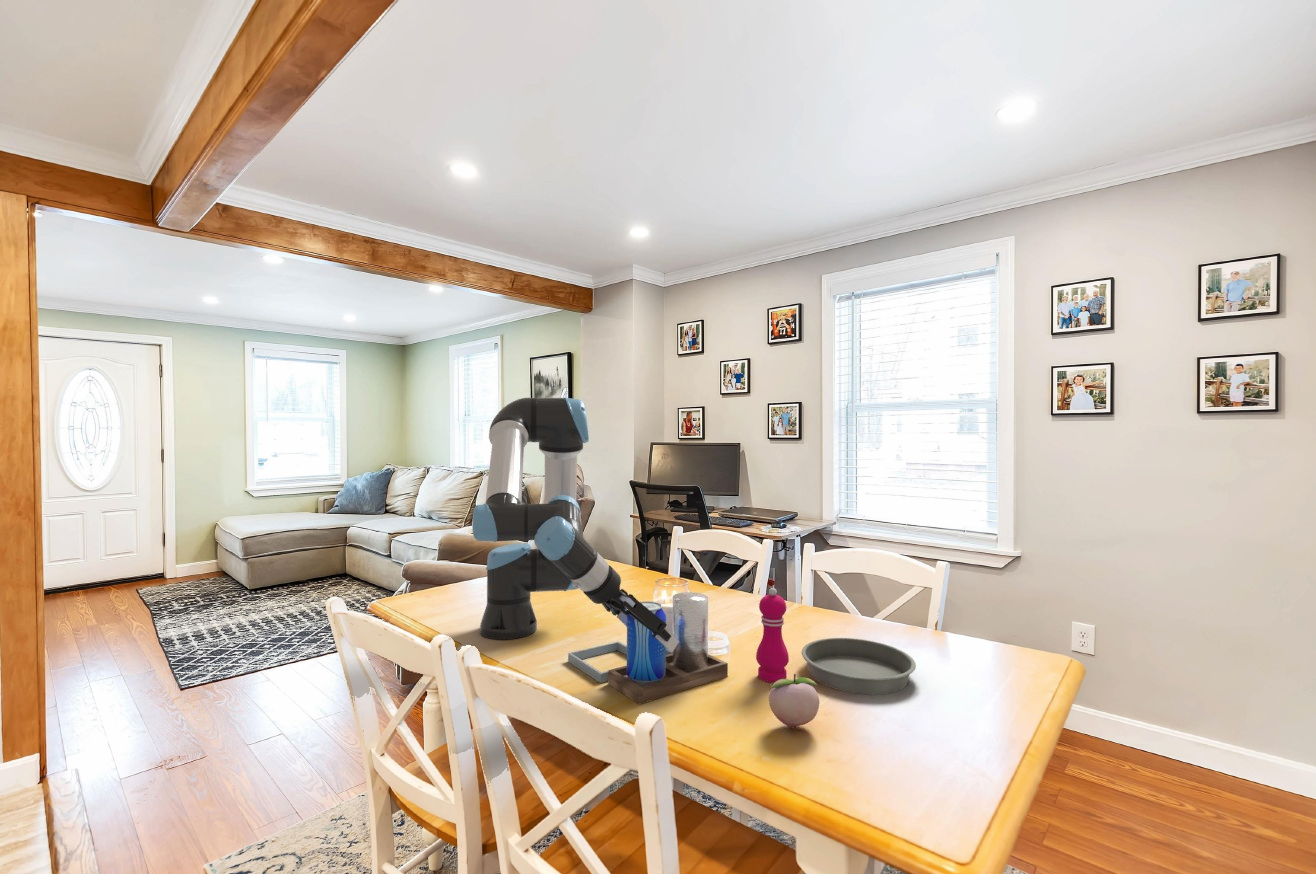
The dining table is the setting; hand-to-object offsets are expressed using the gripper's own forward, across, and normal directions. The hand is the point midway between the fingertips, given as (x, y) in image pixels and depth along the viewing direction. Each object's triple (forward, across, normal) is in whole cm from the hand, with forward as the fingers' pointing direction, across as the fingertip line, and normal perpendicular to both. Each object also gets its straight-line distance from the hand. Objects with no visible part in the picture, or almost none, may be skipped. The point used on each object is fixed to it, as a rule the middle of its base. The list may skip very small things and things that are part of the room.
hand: (655, 637), depth 131 cm
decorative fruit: (+14, +31, 0) cm, 34 cm away
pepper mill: (+24, +12, +9) cm, 29 cm away
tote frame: (+5, -15, -9) cm, 18 cm away
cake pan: (+36, +22, +21) cm, 47 cm away
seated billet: (+13, 0, +1) cm, 13 cm away
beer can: (+5, 0, -8) cm, 9 cm away
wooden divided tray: (+10, 0, -5) cm, 11 cm away
